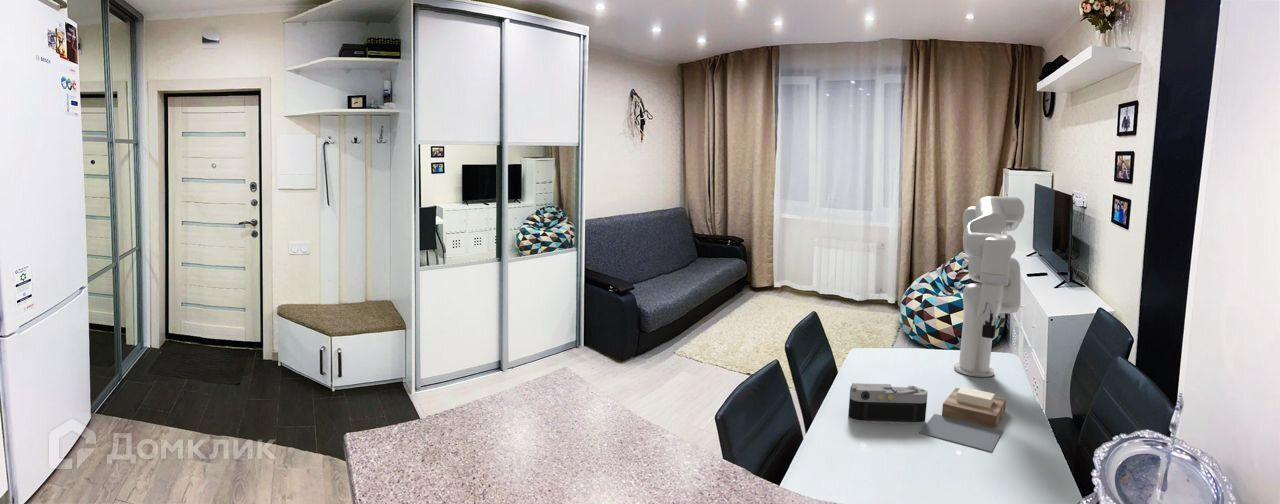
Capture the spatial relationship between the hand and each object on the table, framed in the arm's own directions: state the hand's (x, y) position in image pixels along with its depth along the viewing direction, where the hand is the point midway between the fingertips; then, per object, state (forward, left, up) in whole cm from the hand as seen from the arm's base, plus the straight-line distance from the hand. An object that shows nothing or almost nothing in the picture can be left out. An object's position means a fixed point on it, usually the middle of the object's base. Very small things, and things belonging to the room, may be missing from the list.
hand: (988, 337), depth 199 cm
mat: (+27, 0, -21) cm, 34 cm away
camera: (+30, -20, -21) cm, 42 cm away
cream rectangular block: (+11, 0, -17) cm, 20 cm away
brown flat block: (+11, 0, -21) cm, 24 cm away
